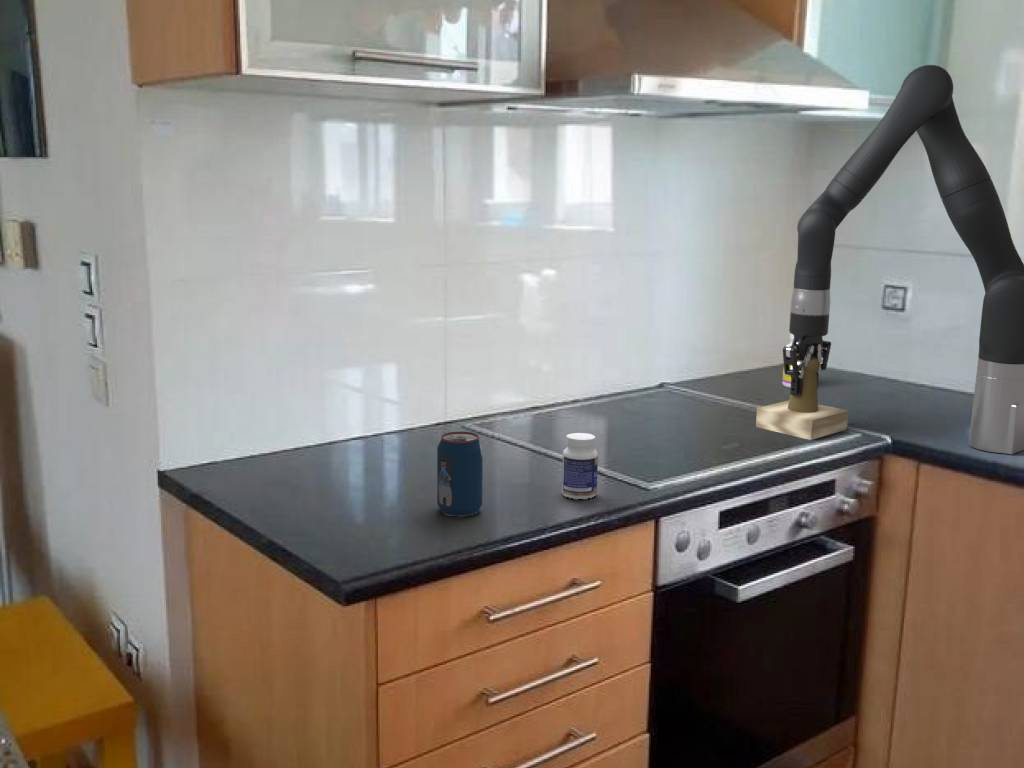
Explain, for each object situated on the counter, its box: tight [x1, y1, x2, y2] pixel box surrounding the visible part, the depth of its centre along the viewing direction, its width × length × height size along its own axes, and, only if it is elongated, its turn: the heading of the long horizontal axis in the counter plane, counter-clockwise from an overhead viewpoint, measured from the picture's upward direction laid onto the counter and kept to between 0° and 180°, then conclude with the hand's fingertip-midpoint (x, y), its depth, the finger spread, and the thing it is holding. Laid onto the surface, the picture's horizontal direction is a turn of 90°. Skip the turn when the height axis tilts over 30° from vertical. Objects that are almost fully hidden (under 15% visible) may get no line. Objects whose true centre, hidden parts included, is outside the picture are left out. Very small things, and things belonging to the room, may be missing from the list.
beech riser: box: [755, 399, 849, 441], centre depth 212 cm, size 13×13×4 cm
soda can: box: [436, 431, 484, 517], centre depth 159 cm, size 7×7×12 cm
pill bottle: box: [561, 432, 599, 500], centre depth 168 cm, size 6×6×10 cm
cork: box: [788, 357, 821, 413], centre depth 211 cm, size 6×6×11 cm
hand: (803, 393), depth 211 cm, fingers open, 5 cm apart
